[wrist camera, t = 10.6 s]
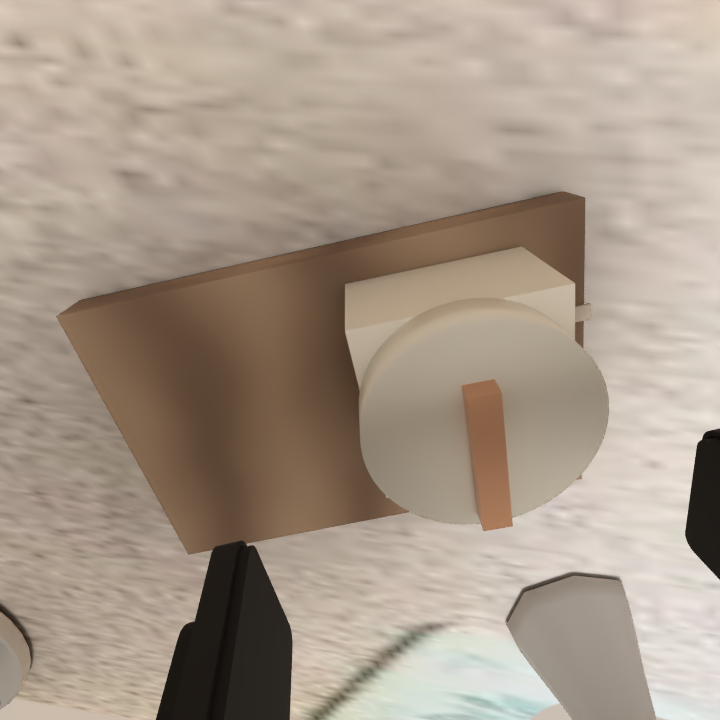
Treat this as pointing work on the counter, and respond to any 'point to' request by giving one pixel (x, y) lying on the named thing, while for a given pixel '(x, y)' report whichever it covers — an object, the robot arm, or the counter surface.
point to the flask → (584, 648)
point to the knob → (473, 387)
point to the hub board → (277, 371)
